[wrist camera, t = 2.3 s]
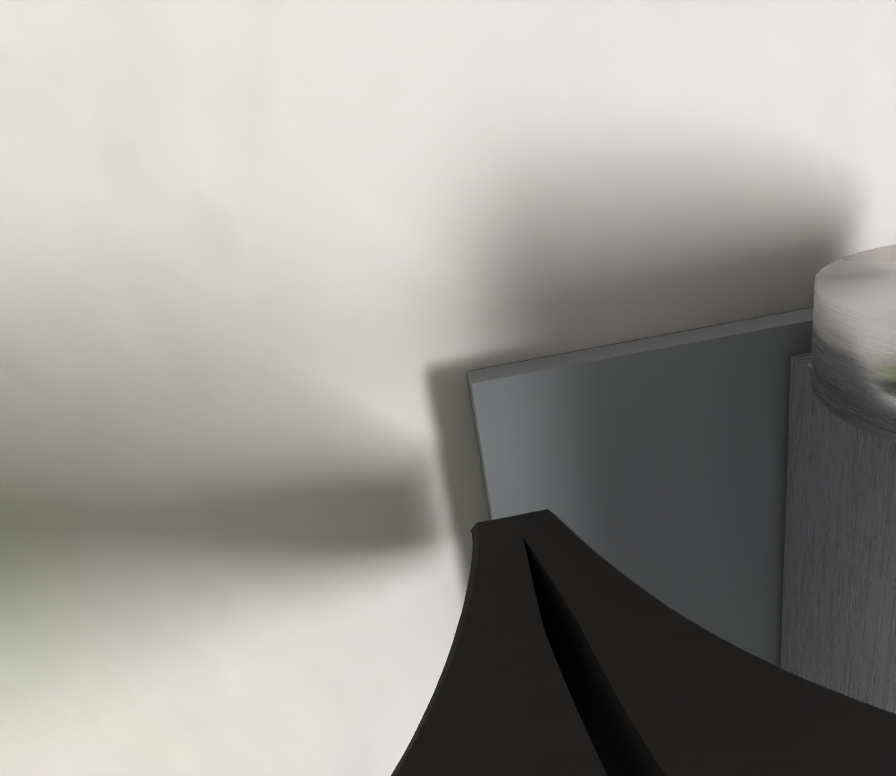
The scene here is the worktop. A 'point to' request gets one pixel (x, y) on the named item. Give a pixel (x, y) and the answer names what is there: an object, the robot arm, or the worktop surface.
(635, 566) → the duct board
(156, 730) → the worktop surface
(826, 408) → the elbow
